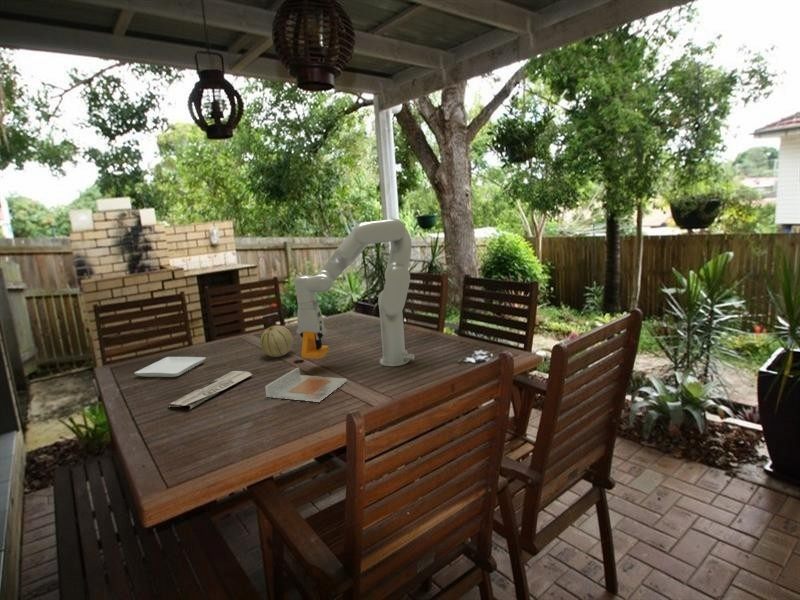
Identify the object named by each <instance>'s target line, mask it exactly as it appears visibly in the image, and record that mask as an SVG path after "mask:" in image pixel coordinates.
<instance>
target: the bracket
mask: <svg viewBox="0 0 800 600" xmlns="http://www.w3.org/2000/svg"><path fill="white" fill-rule="evenodd" d="M315 340H316V337H315V333H314V332H309V331H304V332H303V338H302V344H301V358H303V359H322V358H323V357H325V356H327V355H328V352H329V351H330V348H329V345H323V344H322V347H321V348H320V349H318V350H317V349H316V343H315Z"/></svg>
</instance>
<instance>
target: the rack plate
mask: <svg viewBox="0 0 800 600" xmlns="http://www.w3.org/2000/svg"><path fill="white" fill-rule="evenodd" d="M300 368H301V367H295V368H294V369H292V370H290V371H289V372H287V373H285V374H283V375H282V376H280V377H278V378H276V379H274V381H271V382H269V383H267V384H266V385H265V386H264V389H265V395H266V397H273V398H285V399H294V400H305V401H313V402H320V401H321V400H323V399H324V398H325V397H327V396H328V395H329V394H331V393H332V392H333V391H334V390H336V389H337V388H338V387H340V386H341V385H342V384H344V383H345V382H347V383H348V379H347V378H341V377H330V376H318V375H317V376H316V375H305V374H301V369H300ZM344 385H345V384H344ZM331 395H332V394H331ZM266 397H265V398H266Z"/></svg>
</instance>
